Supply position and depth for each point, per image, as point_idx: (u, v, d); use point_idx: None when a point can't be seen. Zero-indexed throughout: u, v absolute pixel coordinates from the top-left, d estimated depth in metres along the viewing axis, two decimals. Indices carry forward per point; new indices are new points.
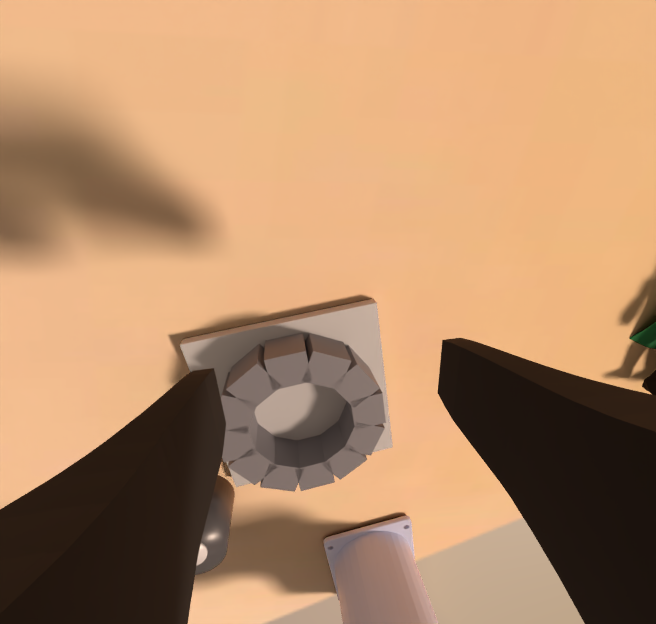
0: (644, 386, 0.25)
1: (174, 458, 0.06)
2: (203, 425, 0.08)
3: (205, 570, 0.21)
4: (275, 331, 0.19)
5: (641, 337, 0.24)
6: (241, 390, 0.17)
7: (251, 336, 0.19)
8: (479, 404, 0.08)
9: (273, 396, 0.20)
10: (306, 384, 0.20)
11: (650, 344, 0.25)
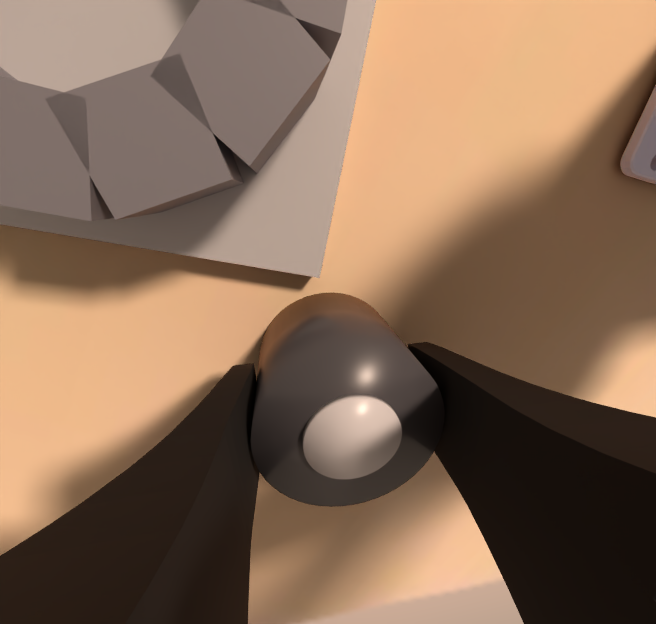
0: None
1: (233, 449, 0.06)
2: (250, 418, 0.08)
3: (440, 427, 0.08)
4: None
5: None
6: None
7: None
8: None
9: (31, 19, 0.06)
10: None
11: None
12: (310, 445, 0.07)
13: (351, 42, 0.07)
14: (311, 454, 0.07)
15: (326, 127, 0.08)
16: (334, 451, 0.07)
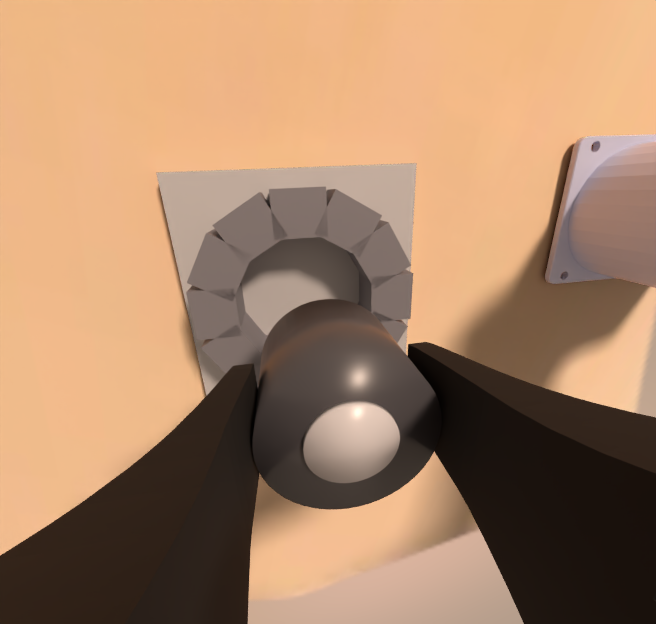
0: None
1: (233, 449, 0.06)
2: (250, 418, 0.08)
3: (438, 428, 0.08)
4: None
5: None
6: None
7: None
8: None
9: None
10: (276, 281, 0.16)
11: None
12: (310, 452, 0.07)
13: None
14: (312, 460, 0.08)
15: None
16: (334, 456, 0.08)
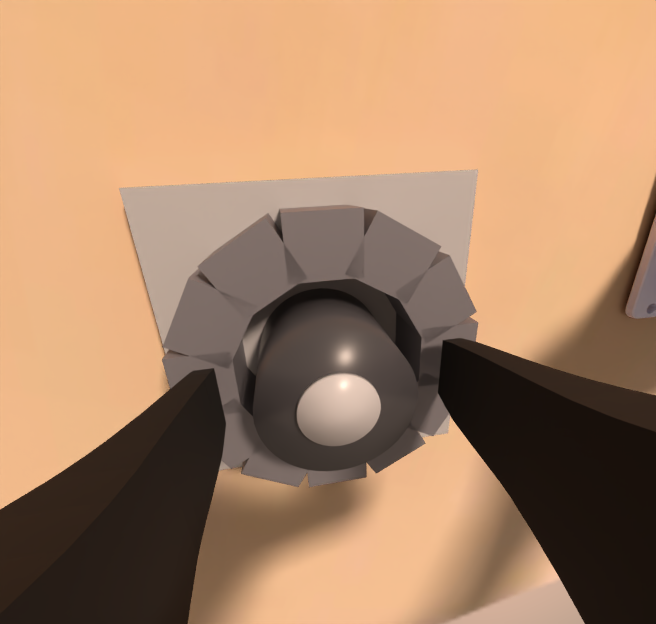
0: None
1: (174, 458, 0.06)
2: (203, 425, 0.08)
3: (415, 399, 0.09)
4: None
5: None
6: (235, 451, 0.11)
7: None
8: (479, 404, 0.08)
9: None
10: None
11: None
12: (303, 417, 0.09)
13: None
14: (304, 425, 0.09)
15: None
16: (323, 422, 0.09)
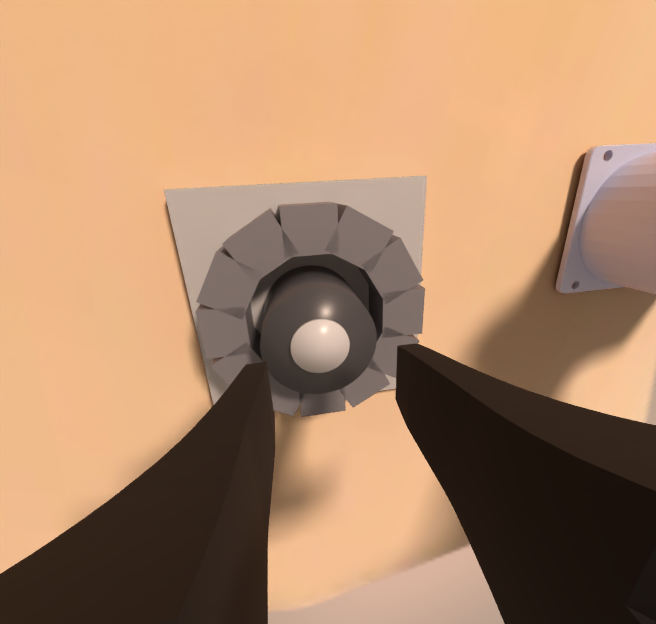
0: None
1: (253, 446, 0.06)
2: (265, 416, 0.08)
3: (375, 340, 0.13)
4: None
5: None
6: None
7: None
8: (426, 412, 0.08)
9: None
10: None
11: None
12: (295, 350, 0.12)
13: None
14: (296, 356, 0.12)
15: None
16: (309, 354, 0.12)
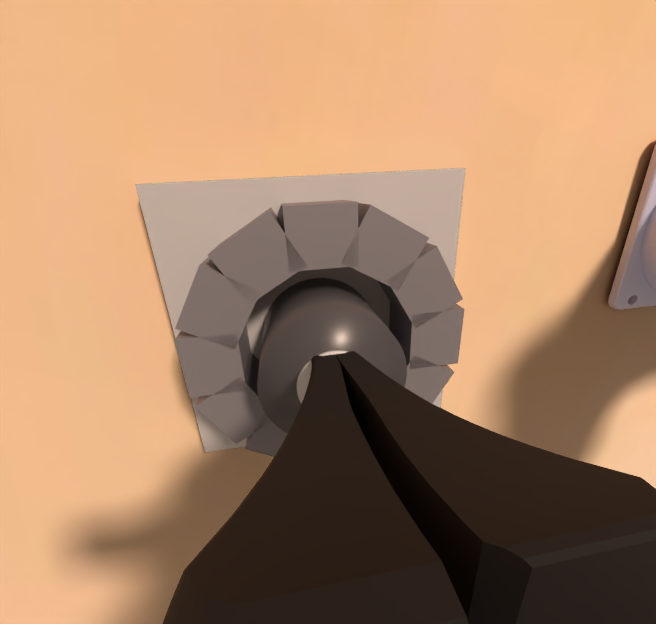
0: None
1: None
2: None
3: (405, 373, 0.10)
4: None
5: None
6: (240, 427, 0.12)
7: None
8: None
9: None
10: None
11: None
12: (302, 391, 0.10)
13: None
14: None
15: None
16: None
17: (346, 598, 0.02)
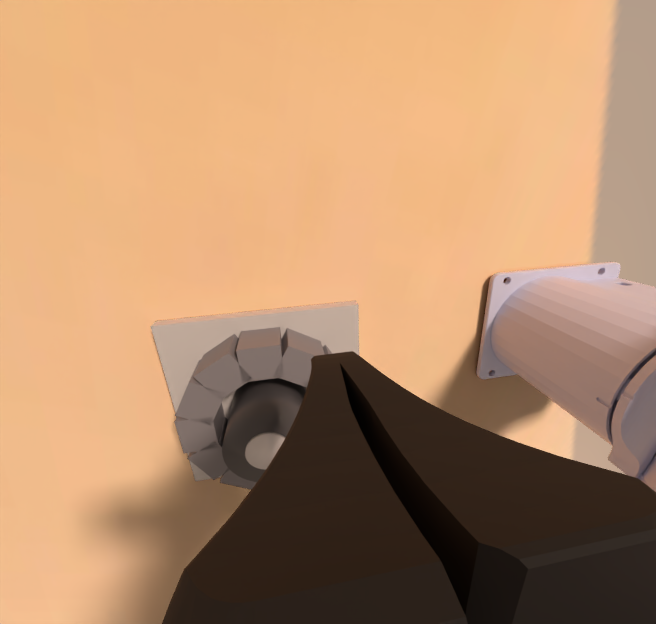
0: None
1: None
2: None
3: None
4: None
5: None
6: (216, 469, 0.19)
7: None
8: None
9: None
10: None
11: None
12: (248, 455, 0.16)
13: None
14: (250, 459, 0.17)
15: None
16: (260, 457, 0.17)
17: (346, 598, 0.02)
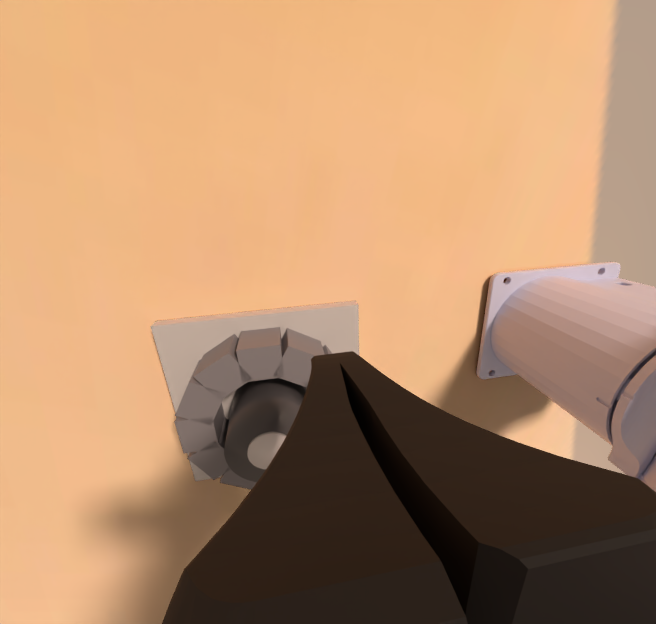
0: None
1: None
2: None
3: None
4: None
5: None
6: (216, 469, 0.19)
7: None
8: None
9: None
10: None
11: None
12: (251, 456, 0.16)
13: None
14: (252, 460, 0.16)
15: None
16: (262, 457, 0.17)
17: (346, 598, 0.02)
